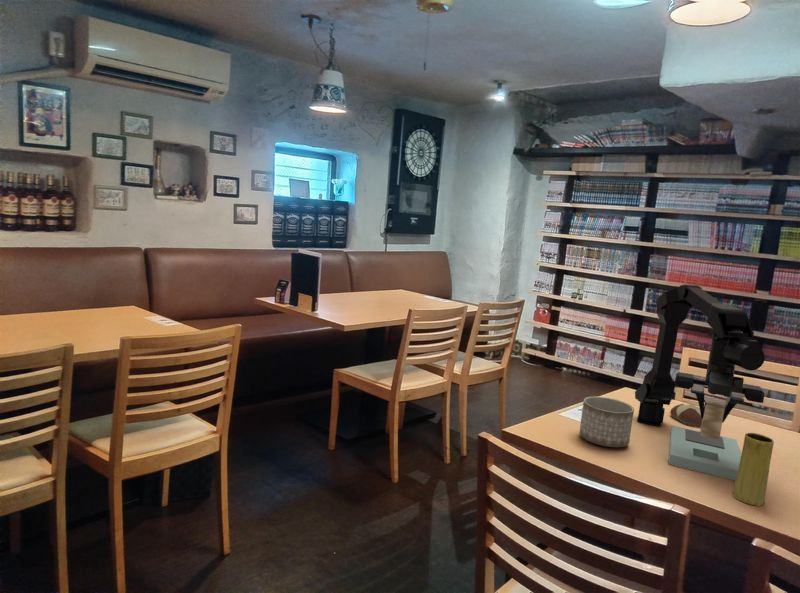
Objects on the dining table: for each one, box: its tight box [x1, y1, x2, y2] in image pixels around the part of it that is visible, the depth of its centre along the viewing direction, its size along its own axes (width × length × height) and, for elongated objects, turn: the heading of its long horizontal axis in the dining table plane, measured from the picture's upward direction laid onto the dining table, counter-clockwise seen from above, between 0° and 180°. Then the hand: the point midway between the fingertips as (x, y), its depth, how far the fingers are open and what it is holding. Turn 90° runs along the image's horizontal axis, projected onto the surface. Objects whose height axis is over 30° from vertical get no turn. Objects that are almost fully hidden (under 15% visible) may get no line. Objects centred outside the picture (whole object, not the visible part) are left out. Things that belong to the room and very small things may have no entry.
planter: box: [578, 395, 635, 448], centre depth 145 cm, size 13×13×10 cm
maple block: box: [699, 399, 725, 440], centre depth 134 cm, size 4×4×8 cm
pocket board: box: [668, 424, 742, 481], centre depth 141 cm, size 16×24×3 cm, turn 152°
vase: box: [731, 432, 775, 507], centre depth 118 cm, size 6×6×14 cm
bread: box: [669, 403, 702, 428], centre depth 167 cm, size 11×11×5 cm
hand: (712, 420), depth 134 cm, fingers closed on maple block, 4 cm apart
